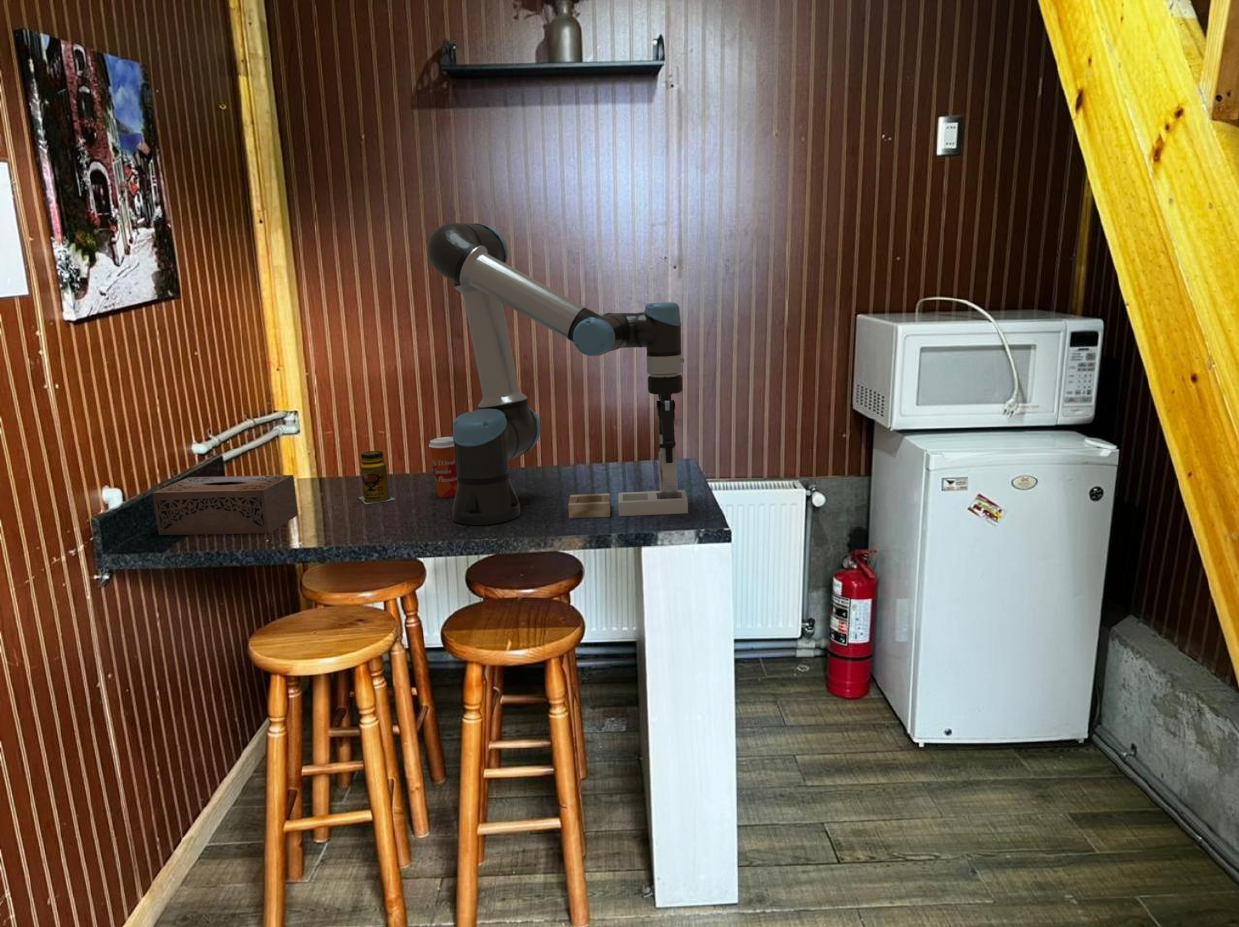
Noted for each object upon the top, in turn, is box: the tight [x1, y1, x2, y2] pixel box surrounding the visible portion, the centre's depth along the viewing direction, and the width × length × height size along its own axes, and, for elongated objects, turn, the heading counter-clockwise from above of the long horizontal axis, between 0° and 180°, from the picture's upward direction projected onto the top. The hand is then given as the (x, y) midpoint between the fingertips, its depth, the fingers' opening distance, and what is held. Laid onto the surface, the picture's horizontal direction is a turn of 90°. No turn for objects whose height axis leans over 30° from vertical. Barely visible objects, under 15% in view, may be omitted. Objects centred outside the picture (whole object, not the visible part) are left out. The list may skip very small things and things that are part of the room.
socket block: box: [567, 492, 611, 519], centre depth 203 cm, size 9×9×3 cm
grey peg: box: [657, 450, 679, 499], centre depth 202 cm, size 4×4×13 cm
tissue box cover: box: [151, 474, 299, 536], centre depth 206 cm, size 26×14×10 cm, turn 84°
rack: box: [617, 489, 689, 517], centre depth 203 cm, size 15×9×3 cm, turn 90°
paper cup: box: [428, 436, 458, 498], centre depth 223 cm, size 8×8×14 cm
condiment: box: [358, 450, 396, 505], centre depth 223 cm, size 7×8×12 cm
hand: (667, 470), depth 201 cm, fingers open, 13 cm apart
